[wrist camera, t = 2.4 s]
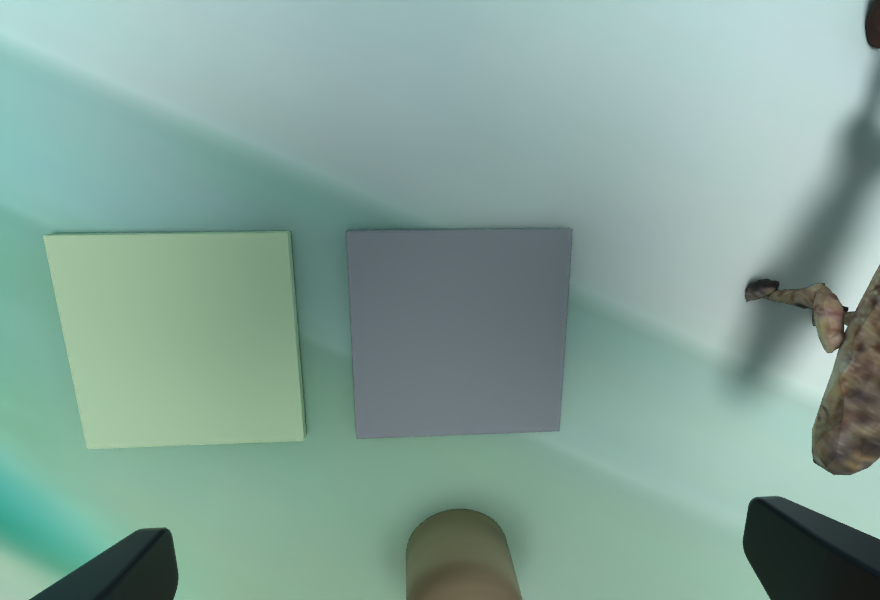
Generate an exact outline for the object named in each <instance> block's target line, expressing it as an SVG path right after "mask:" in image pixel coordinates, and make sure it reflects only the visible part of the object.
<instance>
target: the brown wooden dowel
mask: <svg viewBox="0 0 880 600" xmlns="http://www.w3.org/2000/svg"><path fill="white" fill-rule="evenodd" d="M406 600H522V596H521V593H520V589H519V585H518V582H517V578H516V574H515V571H514V567H513V563H512V559H511V556H510V552H509V548H508V545H507V541H506V538H505V535H504V533H503V531H502V529H501V528H500V527H499V525H498V524H497V523H496V522H495V521H494V520H492V519H491V518H490V517H488V516H486V515H484V514H482V513H480V512H477V511H473V510H467V509H453V510H447V511H443V512H440V513H437V514H435V515H433V516H431V517H429V518H428V519H426V520H425V521H424V522H422V523H421V524H420V525H419V526H418V527H417V528H416V529H415V531H414V532H413V534H412V535H411V537H410V539H409V542H408V545H407V549H406Z"/></svg>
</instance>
